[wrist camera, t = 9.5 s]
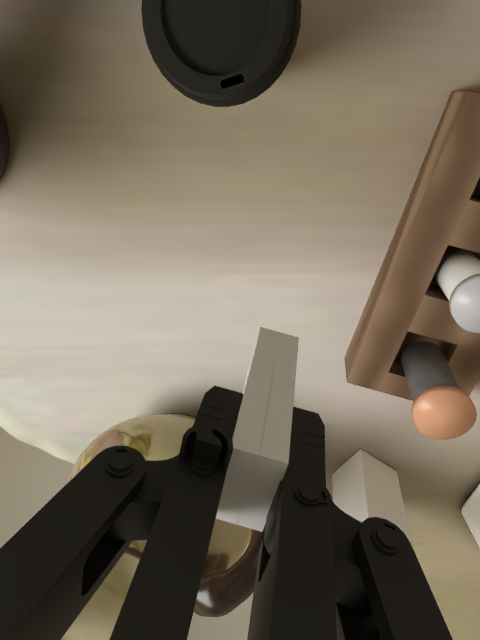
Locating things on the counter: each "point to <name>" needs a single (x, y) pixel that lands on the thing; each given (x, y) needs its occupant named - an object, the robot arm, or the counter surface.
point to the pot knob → (436, 393)
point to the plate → (473, 513)
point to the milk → (369, 491)
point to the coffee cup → (221, 45)
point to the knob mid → (461, 286)
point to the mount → (425, 263)
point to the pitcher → (222, 557)
